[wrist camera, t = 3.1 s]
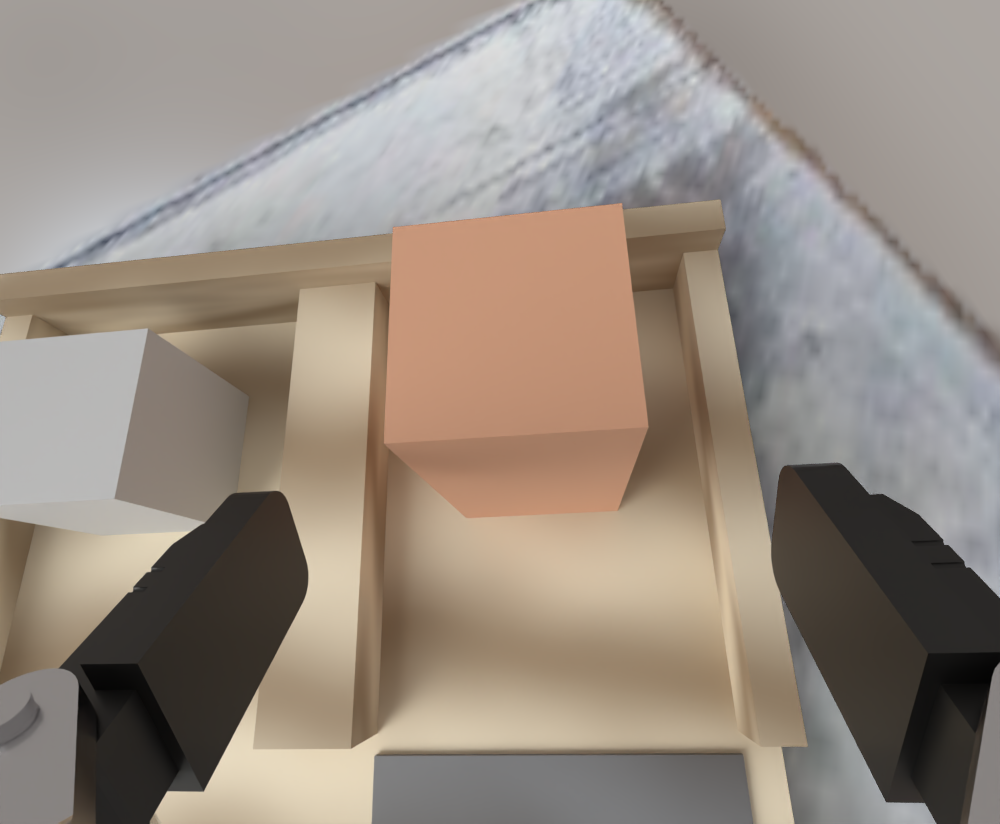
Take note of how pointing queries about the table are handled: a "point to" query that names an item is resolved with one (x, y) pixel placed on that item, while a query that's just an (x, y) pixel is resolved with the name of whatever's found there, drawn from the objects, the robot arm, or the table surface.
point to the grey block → (115, 434)
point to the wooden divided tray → (453, 564)
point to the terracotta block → (516, 361)
